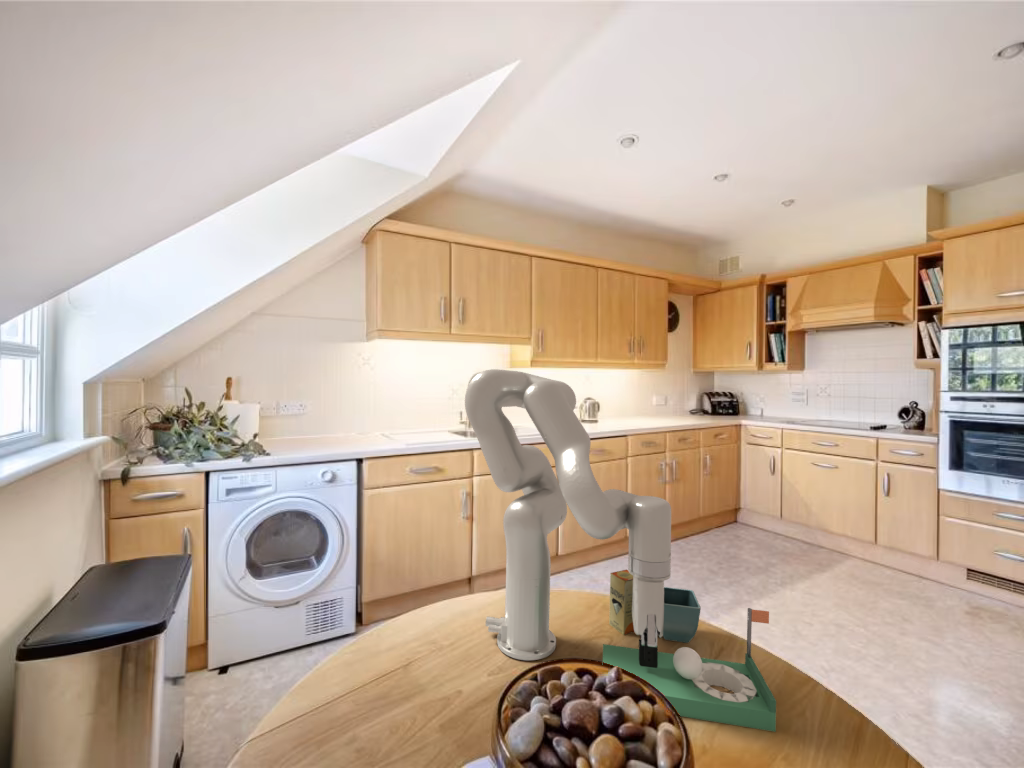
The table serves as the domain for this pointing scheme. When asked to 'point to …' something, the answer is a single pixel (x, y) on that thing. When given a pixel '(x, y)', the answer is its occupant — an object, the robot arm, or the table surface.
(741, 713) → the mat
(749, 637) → the flag
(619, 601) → the shoe polish box
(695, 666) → the ball
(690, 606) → the flower pot
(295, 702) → the table surface
